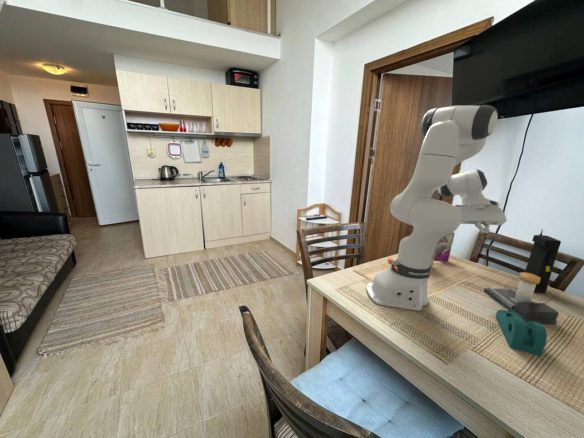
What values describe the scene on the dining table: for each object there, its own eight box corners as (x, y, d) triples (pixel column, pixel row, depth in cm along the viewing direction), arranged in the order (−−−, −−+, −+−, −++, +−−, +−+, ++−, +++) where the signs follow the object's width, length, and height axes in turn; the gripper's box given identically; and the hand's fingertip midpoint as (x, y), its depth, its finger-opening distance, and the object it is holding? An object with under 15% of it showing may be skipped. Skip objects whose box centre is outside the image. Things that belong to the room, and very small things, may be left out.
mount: (483, 291, 98) (486, 281, 97) (508, 292, 98) (512, 282, 96) (524, 323, 80) (528, 311, 79) (556, 324, 79) (560, 312, 78)
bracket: (540, 357, 67) (549, 333, 65) (509, 348, 70) (517, 325, 67) (517, 319, 82) (524, 299, 80) (493, 313, 85) (498, 293, 83)
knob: (507, 300, 89) (516, 271, 86) (522, 301, 89) (531, 272, 86) (519, 309, 84) (529, 279, 81) (534, 310, 84) (545, 279, 81)
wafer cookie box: (424, 260, 126) (430, 230, 122) (422, 256, 131) (427, 227, 126) (448, 262, 124) (455, 232, 119) (445, 258, 128) (451, 229, 124)
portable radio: (549, 295, 97) (569, 236, 90) (531, 293, 98) (550, 235, 91) (534, 284, 104) (552, 230, 97) (518, 283, 105) (535, 228, 99)
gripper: (456, 201, 109) (465, 227, 103) (502, 202, 109) (514, 229, 102) (448, 208, 115) (456, 234, 108) (492, 209, 114) (503, 236, 107)
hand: (485, 232), depth 105 cm, fingers closed
